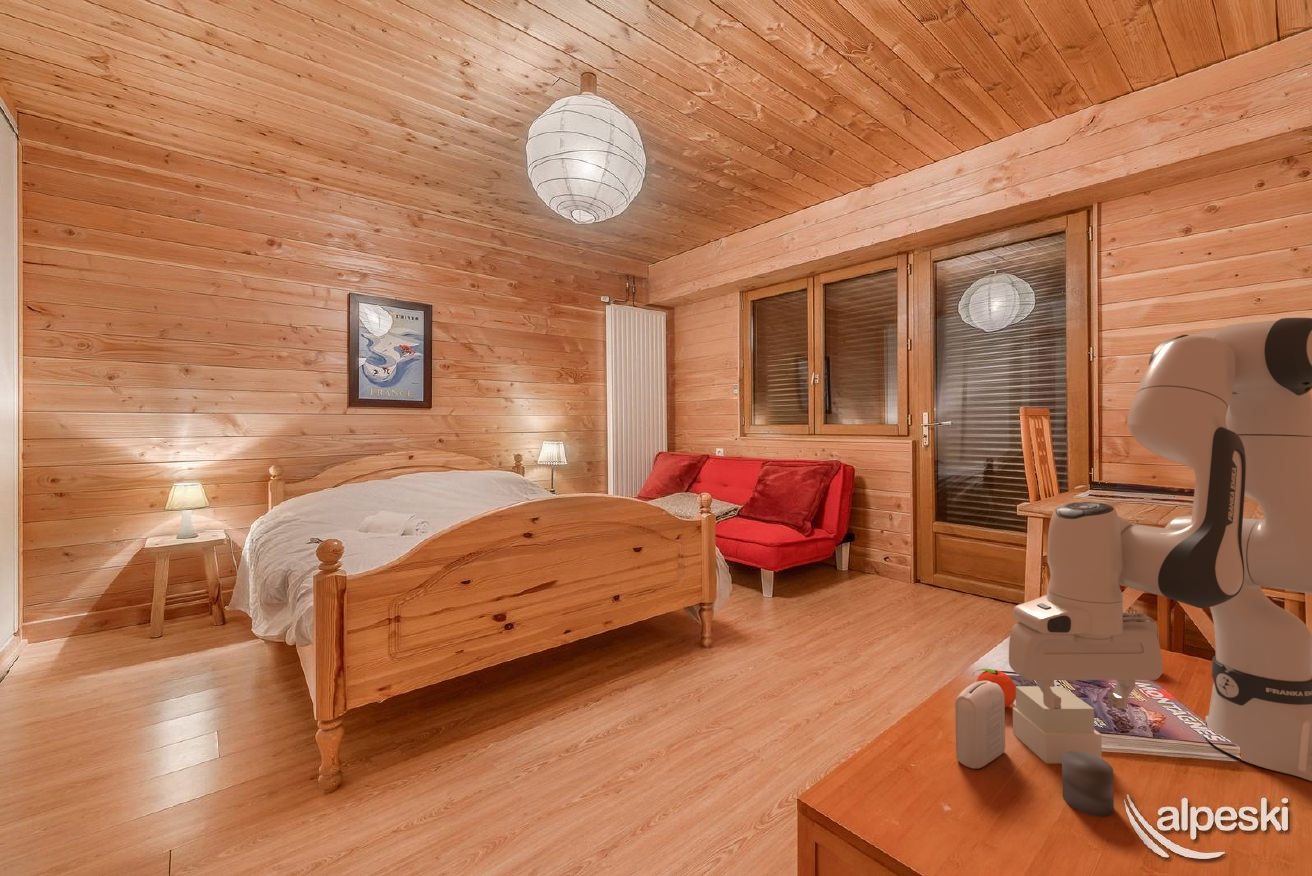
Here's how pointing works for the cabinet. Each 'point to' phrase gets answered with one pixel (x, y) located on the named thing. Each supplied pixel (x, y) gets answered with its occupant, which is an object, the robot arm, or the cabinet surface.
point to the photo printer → (980, 724)
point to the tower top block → (1055, 711)
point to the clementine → (1000, 683)
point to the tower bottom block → (1054, 740)
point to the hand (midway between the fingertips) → (1084, 707)
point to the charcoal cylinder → (1087, 783)
